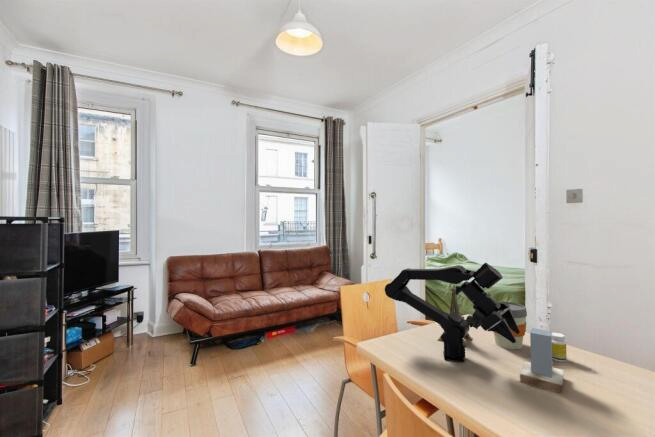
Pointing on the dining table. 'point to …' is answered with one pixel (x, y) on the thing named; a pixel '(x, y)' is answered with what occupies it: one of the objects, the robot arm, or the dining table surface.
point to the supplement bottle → (558, 347)
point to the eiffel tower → (455, 307)
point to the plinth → (542, 378)
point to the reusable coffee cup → (519, 317)
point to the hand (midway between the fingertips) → (516, 337)
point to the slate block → (541, 352)
